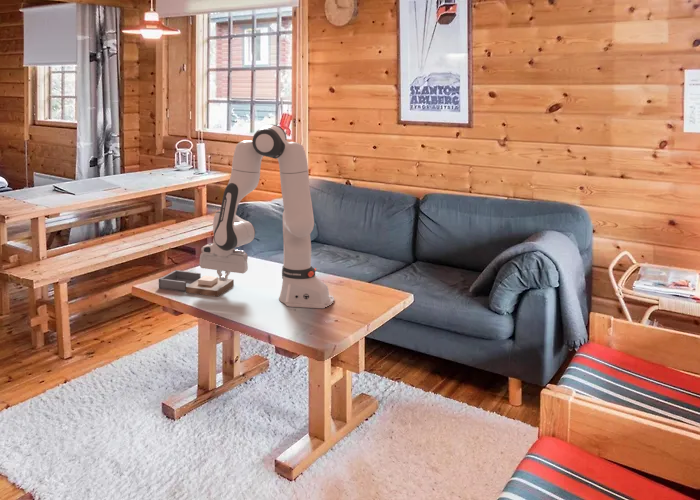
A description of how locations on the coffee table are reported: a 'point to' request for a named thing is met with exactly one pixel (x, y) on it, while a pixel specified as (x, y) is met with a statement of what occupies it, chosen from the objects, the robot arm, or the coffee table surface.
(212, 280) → the tile
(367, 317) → the coffee table surface
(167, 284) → the box
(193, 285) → the board
